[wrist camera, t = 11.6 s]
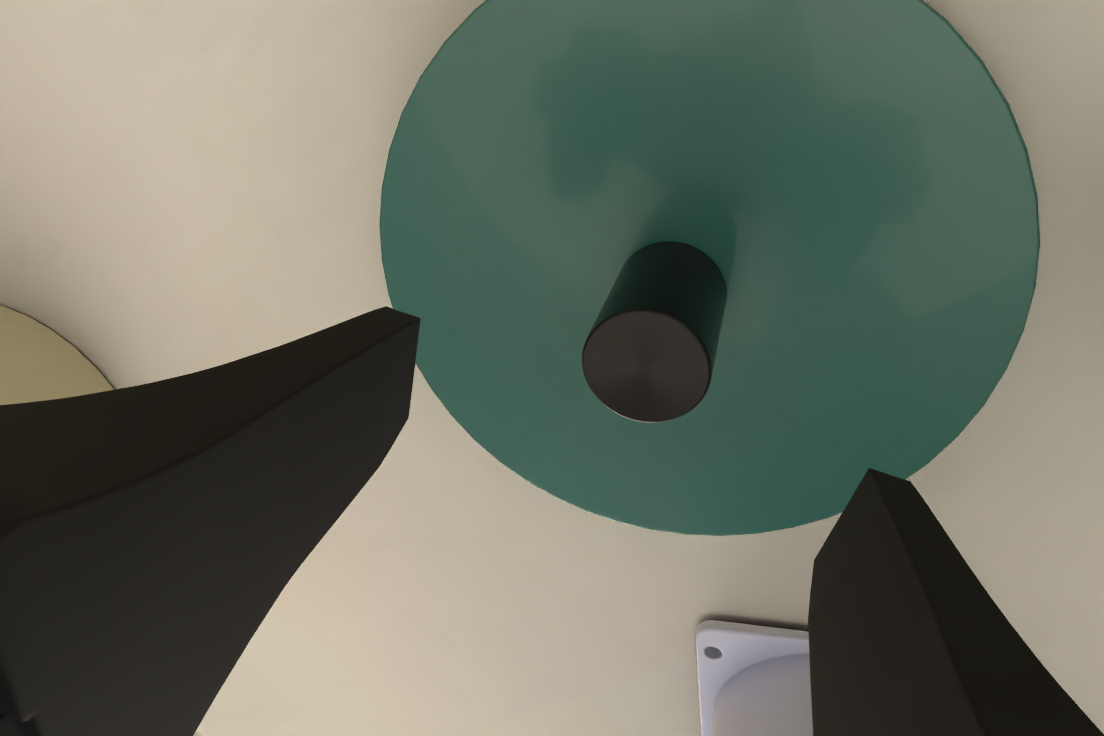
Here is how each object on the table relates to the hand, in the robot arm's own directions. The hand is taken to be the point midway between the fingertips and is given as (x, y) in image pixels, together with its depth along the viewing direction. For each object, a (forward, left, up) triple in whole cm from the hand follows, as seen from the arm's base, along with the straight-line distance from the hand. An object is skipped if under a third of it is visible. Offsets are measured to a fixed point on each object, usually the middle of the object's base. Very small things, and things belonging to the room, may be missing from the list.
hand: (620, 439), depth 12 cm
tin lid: (0, 0, -6) cm, 6 cm away
